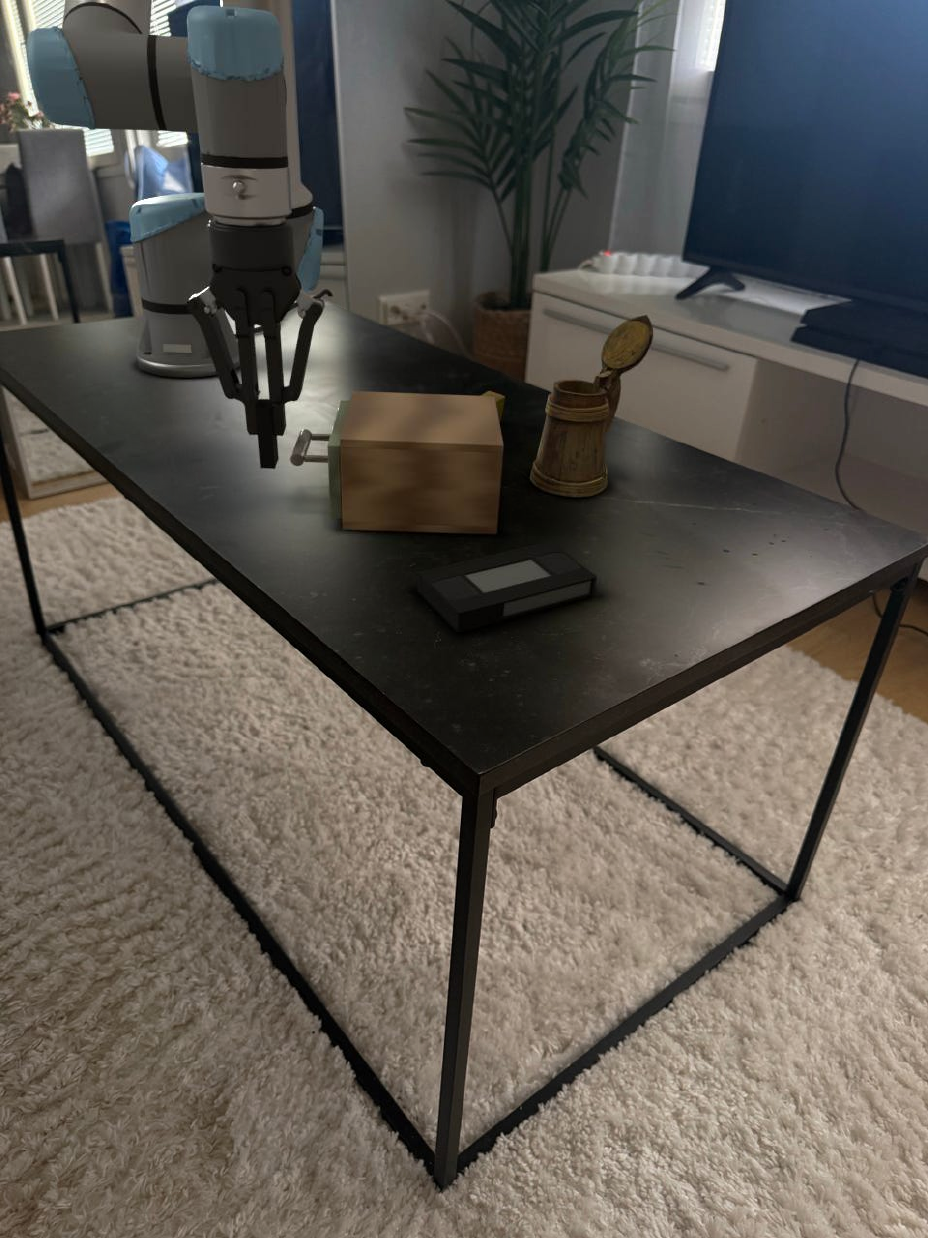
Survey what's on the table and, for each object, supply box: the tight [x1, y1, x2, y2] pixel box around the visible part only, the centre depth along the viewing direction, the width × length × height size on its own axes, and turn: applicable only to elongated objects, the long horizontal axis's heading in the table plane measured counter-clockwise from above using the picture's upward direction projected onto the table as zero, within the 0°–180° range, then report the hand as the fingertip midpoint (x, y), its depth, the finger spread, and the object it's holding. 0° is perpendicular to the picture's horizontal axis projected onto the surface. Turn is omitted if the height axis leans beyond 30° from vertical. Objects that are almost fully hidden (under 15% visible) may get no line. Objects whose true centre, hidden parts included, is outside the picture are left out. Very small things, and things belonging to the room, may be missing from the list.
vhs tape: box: [416, 541, 598, 633], centre depth 75 cm, size 8×14×2 cm, turn 120°
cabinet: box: [340, 390, 505, 535], centre depth 88 cm, size 16×15×10 cm
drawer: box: [289, 400, 350, 520], centre depth 88 cm, size 19×13×8 cm
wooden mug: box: [529, 314, 654, 498], centre depth 94 cm, size 9×14×18 cm, turn 126°
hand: (269, 463), depth 88 cm, fingers closed
